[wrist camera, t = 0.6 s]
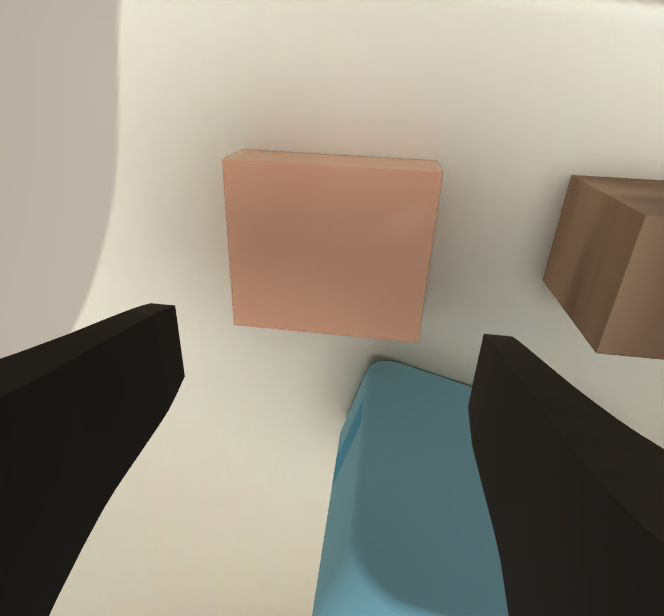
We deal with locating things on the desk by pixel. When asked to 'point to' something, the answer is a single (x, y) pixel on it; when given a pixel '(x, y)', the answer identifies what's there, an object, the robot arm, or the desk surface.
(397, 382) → the teal rounded block
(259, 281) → the terracotta plinth
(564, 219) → the walnut block
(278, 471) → the desk surface
